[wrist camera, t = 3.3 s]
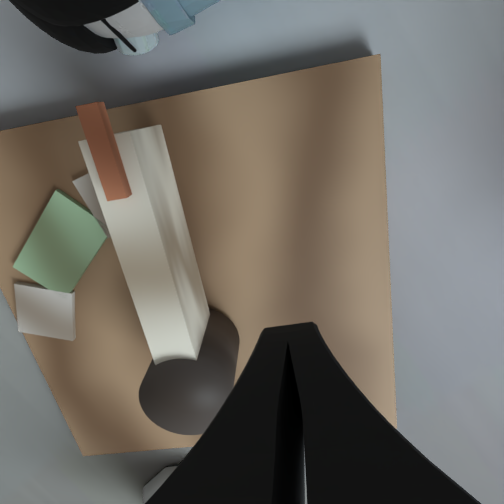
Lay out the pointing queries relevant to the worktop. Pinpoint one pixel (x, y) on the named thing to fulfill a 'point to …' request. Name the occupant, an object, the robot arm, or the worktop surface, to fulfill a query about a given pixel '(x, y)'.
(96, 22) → the toy
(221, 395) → the peg
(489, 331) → the worktop surface
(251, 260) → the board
